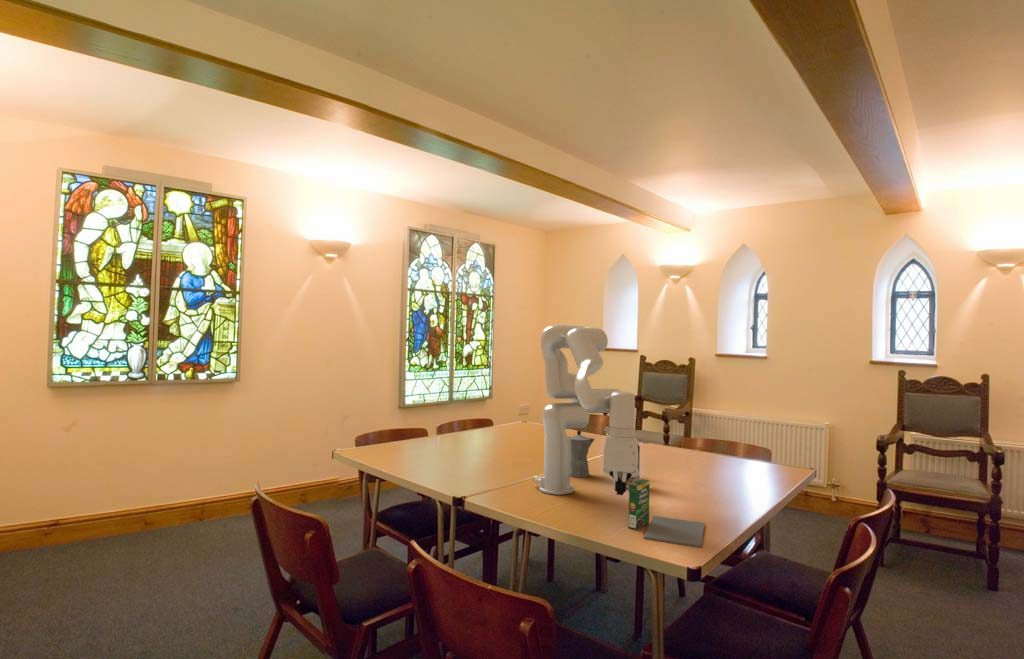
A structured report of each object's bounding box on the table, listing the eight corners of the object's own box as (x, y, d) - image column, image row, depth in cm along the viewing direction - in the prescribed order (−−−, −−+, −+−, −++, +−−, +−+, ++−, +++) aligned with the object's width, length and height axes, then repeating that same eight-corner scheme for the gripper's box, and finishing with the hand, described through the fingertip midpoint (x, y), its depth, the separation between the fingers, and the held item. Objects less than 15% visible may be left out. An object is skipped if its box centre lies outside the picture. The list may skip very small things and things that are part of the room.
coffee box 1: (637, 484, 210) (638, 442, 210) (639, 489, 203) (640, 445, 204) (613, 483, 211) (614, 441, 211) (614, 487, 204) (615, 444, 205)
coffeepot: (591, 472, 228) (592, 429, 228) (596, 478, 218) (597, 432, 219) (554, 471, 227) (556, 428, 227) (558, 477, 217) (559, 432, 218)
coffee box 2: (636, 530, 158) (637, 485, 158) (627, 528, 160) (628, 483, 160) (649, 524, 164) (650, 480, 164) (641, 522, 166) (641, 478, 166)
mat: (643, 538, 151) (643, 536, 151) (653, 517, 170) (653, 515, 170) (701, 547, 146) (701, 545, 146) (704, 524, 164) (704, 522, 164)
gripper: (594, 432, 164) (592, 494, 163) (644, 436, 158) (643, 500, 158) (599, 429, 171) (598, 488, 170) (648, 433, 165) (647, 494, 165)
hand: (620, 494), depth 164 cm, fingers closed
